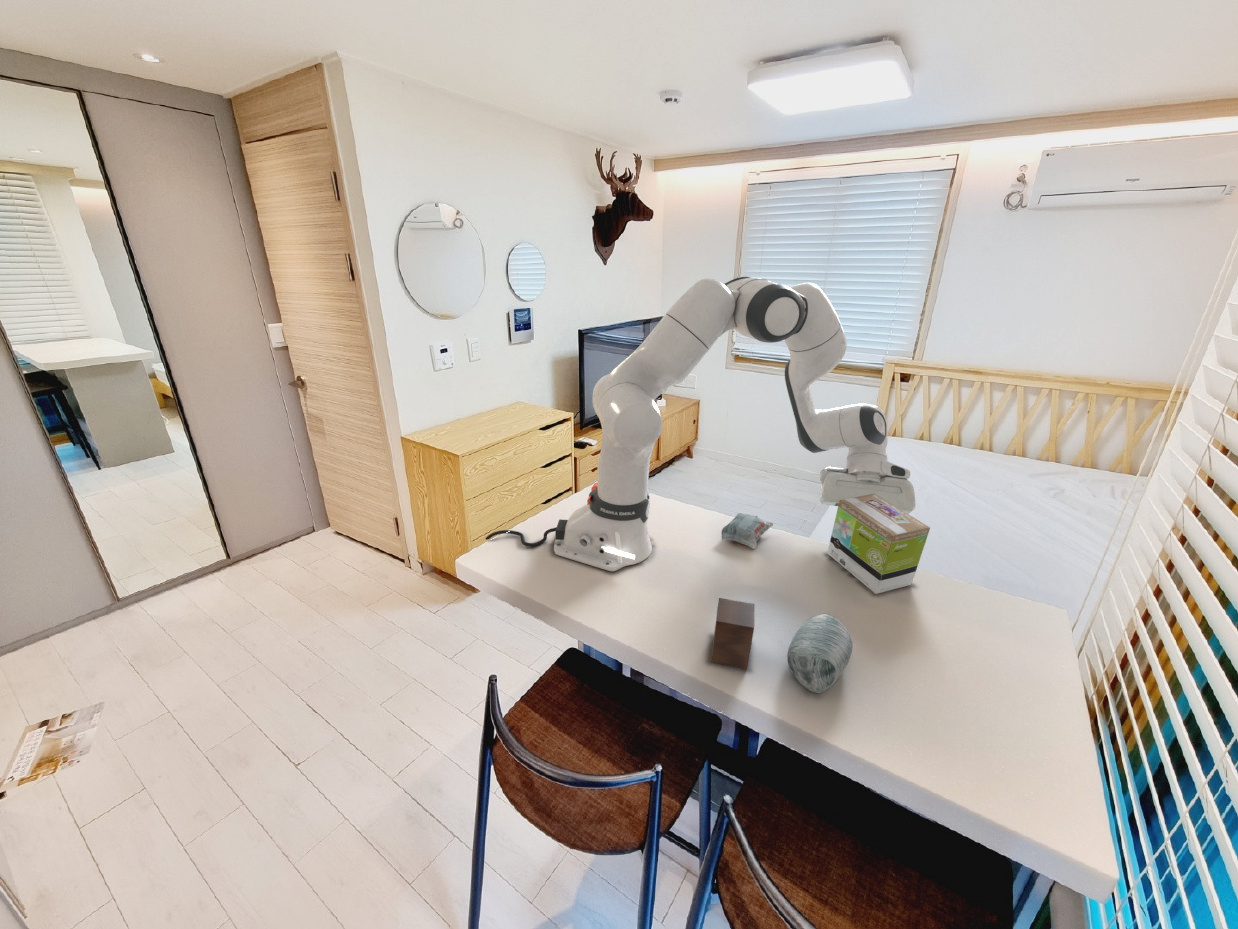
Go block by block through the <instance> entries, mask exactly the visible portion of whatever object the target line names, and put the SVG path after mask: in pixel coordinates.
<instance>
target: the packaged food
mask: <svg viewBox="0 0 1238 929" xmlns="http://www.w3.org/2000/svg"><path fill="white" fill-rule="evenodd" d="M773 526H774V523H773V522H771V521H769V522H768V521H766V520H764V519H761V518H760V517H758V515H755V514H748V513H742V512H739V513H737V514H736V515H735V516H734V518H732V520H731V521H730V522H729V523H728V524H726V525H725V526H724V527H723V528H722V529H721V540H723V541H725V540H728V541H732V542H735V543H738V544H741V545H743V546H747V547H749V548H750V549H752V550H756V549H757V544H758V541H759V539H760V538H761V537H762V535H764V534H765V533H766V532H767V531H768V530H769V529H770V528H772V527H773Z"/></svg>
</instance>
